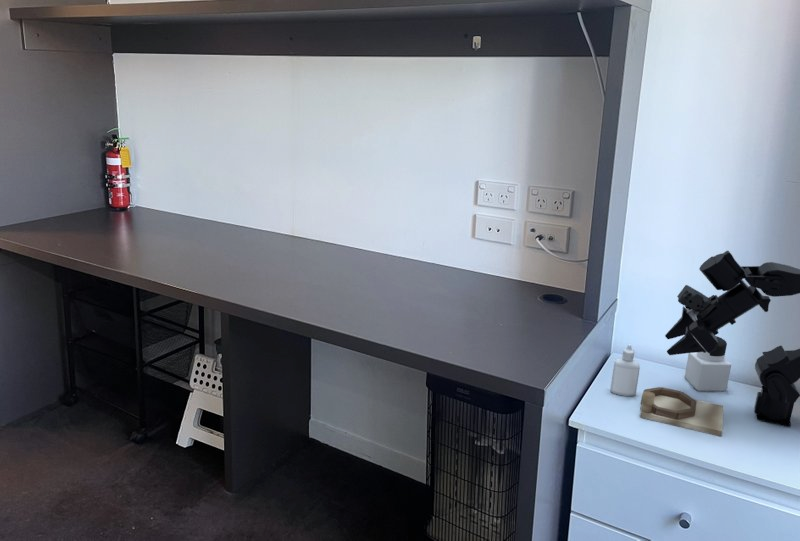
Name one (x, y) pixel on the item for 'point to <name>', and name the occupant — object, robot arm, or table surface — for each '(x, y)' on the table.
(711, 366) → the medicine bottle
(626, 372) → the eye dropper bottle
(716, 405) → the board
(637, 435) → the table surface
